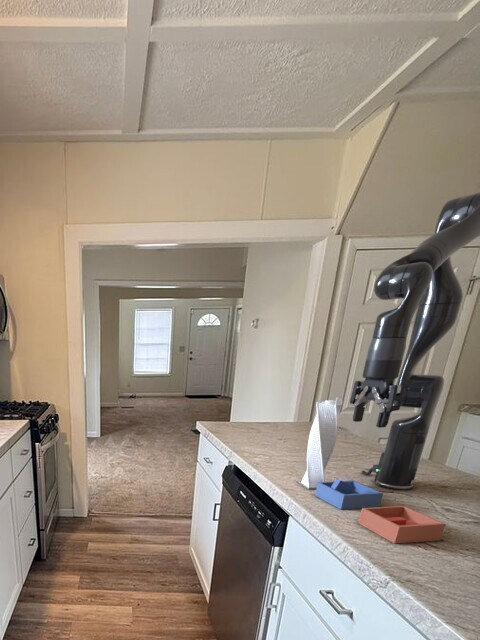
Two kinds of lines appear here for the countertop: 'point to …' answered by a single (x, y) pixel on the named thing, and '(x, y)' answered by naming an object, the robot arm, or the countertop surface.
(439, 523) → the terracotta bin
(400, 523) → the red stepped block
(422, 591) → the countertop surface
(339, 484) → the blue stepped block
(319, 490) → the blue bin
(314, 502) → the countertop surface
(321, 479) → the skyscraper
